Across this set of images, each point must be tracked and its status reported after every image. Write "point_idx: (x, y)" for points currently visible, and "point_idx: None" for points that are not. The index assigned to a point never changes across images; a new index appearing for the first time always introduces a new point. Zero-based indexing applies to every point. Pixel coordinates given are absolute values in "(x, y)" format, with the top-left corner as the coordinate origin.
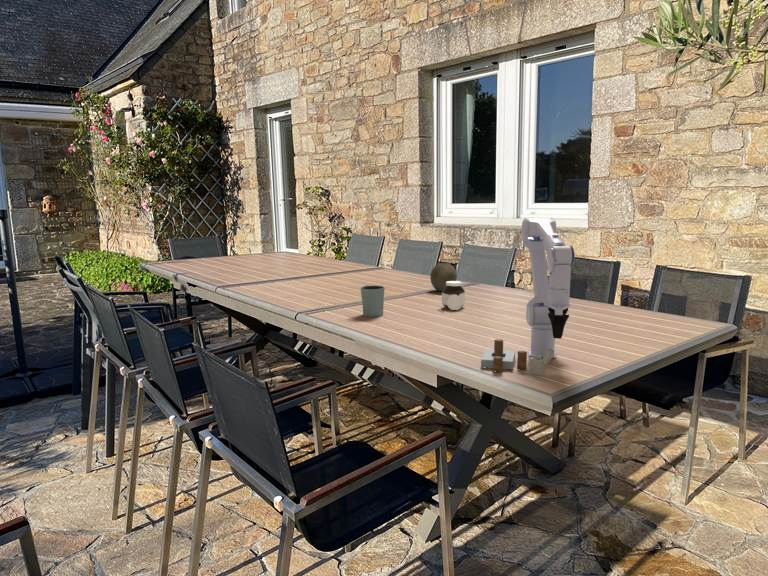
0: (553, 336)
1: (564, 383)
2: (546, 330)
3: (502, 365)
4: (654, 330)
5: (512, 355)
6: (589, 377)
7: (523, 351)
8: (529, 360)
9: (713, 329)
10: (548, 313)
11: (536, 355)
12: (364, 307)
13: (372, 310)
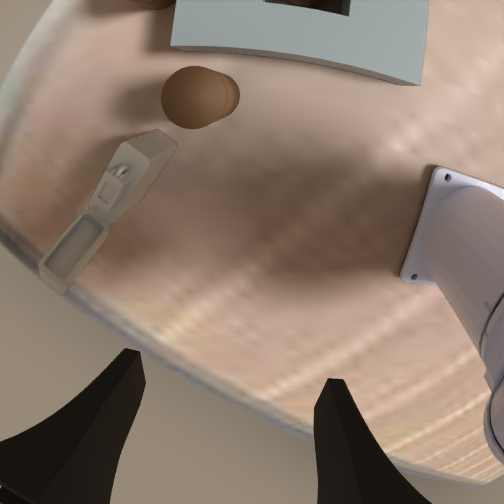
0: (119, 354)
1: None
2: (481, 325)
3: (144, 2)
4: None
5: (312, 47)
6: (160, 339)
7: (210, 105)
8: (127, 140)
9: (479, 480)
10: (4, 485)
11: (114, 187)
12: None
13: None
